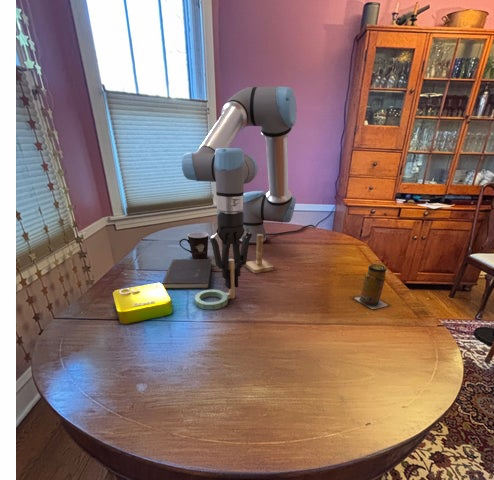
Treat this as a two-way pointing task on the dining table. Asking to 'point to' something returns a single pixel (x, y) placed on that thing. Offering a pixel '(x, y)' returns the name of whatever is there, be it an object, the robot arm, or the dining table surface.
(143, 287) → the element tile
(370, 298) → the condiment
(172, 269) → the hardcover book
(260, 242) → the post
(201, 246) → the coffee mug
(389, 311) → the dining table surface
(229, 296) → the hoop
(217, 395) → the dining table surface
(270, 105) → the robot arm
